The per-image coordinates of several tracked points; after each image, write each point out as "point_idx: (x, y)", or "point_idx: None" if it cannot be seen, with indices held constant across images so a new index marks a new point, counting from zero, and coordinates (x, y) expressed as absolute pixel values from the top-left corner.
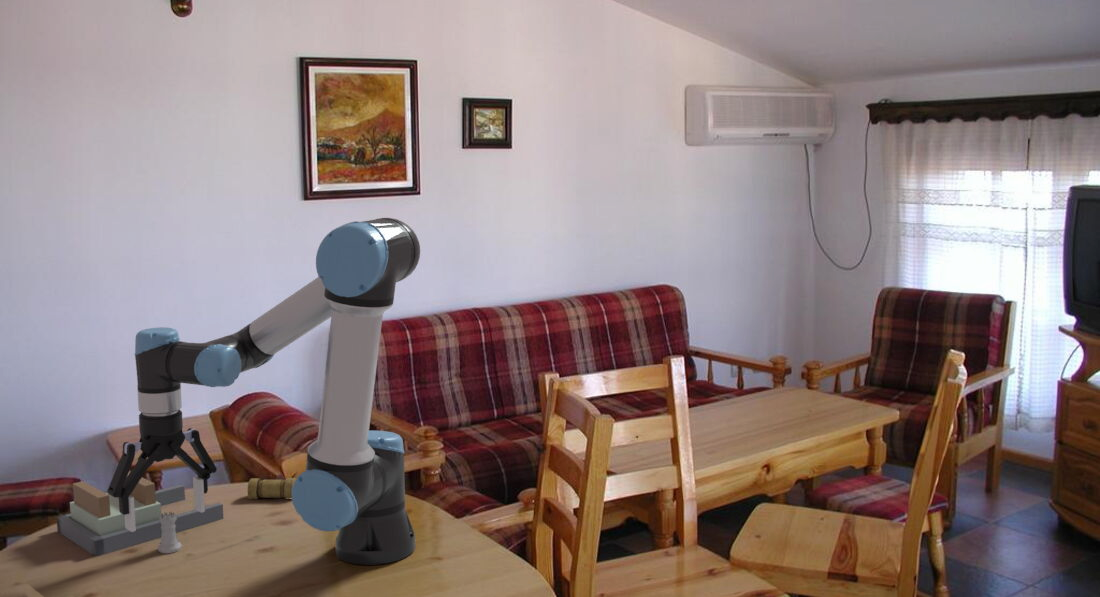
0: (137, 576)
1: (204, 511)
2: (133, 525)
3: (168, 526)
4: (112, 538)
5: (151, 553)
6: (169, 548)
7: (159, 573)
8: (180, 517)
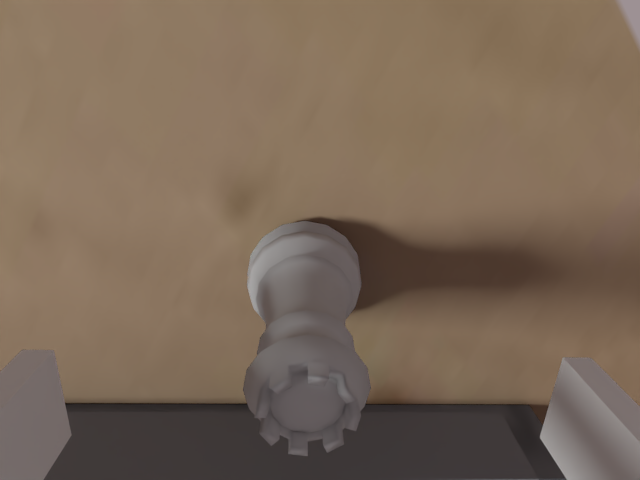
0: (539, 152)
1: (23, 350)
2: (606, 386)
3: (324, 331)
4: (492, 468)
5: (352, 333)
6: (330, 249)
7: (460, 101)
8: (144, 477)
